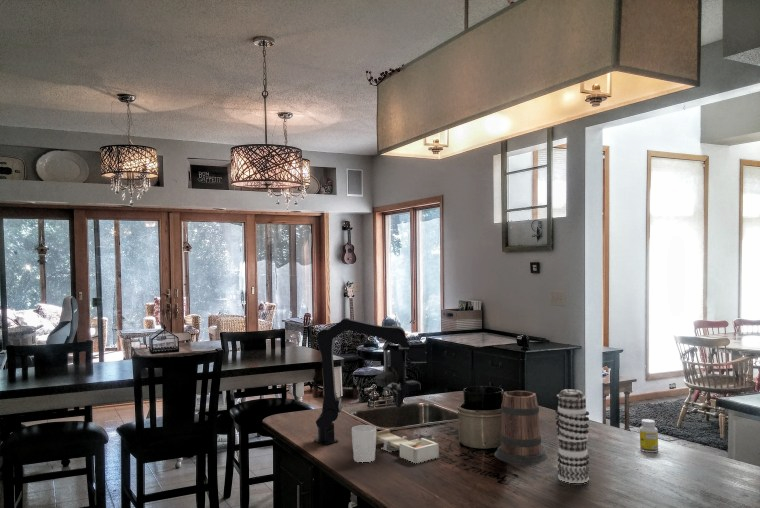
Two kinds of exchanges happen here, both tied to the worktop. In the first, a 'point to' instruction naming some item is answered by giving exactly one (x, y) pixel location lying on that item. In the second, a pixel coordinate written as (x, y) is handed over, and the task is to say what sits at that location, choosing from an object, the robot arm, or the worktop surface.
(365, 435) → the white cup
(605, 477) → the worktop surface
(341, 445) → the worktop surface
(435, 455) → the tray
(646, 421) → the supplement bottle
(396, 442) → the lever
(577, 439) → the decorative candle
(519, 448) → the tankard
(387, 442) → the fulcrum
